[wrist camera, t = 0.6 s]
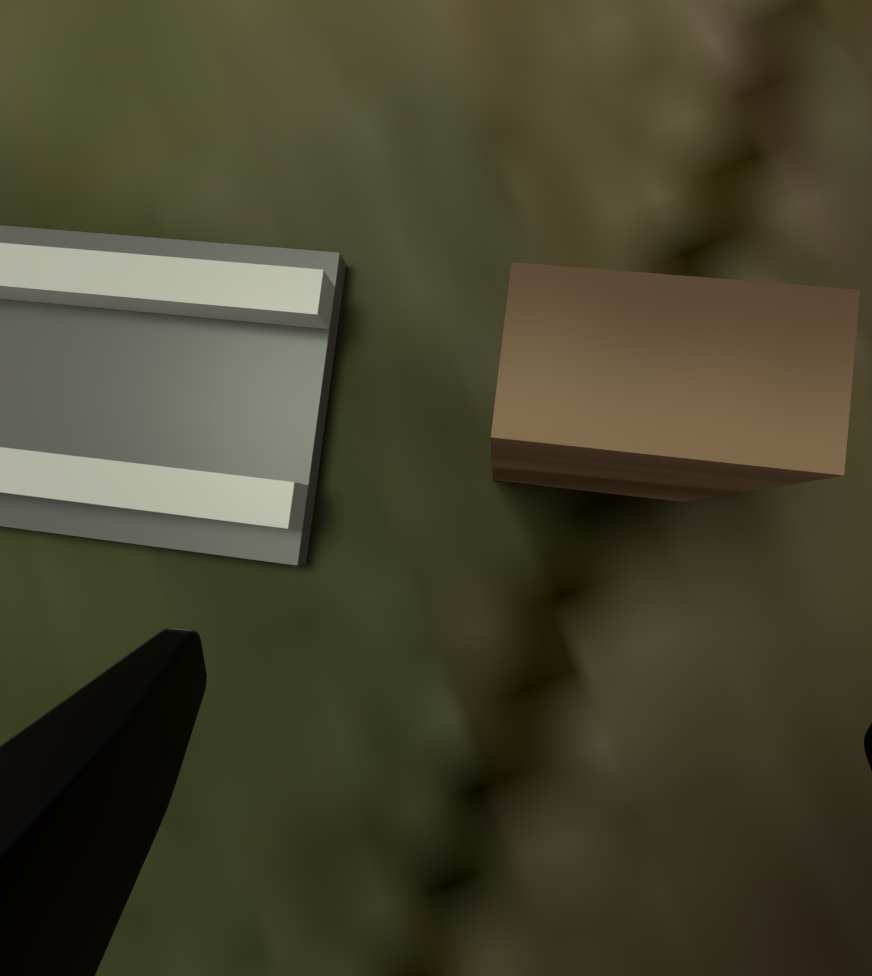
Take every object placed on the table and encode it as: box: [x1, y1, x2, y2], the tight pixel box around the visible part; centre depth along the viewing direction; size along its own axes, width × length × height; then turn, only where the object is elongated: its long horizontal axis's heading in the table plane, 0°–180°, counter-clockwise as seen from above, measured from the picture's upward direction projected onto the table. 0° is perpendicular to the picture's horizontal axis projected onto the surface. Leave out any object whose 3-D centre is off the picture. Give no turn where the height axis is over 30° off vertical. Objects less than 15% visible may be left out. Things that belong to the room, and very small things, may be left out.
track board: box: [0, 225, 346, 566], centre depth 23 cm, size 11×19×2 cm, turn 83°
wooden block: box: [491, 262, 860, 502], centre depth 17 cm, size 4×6×10 cm, turn 83°
